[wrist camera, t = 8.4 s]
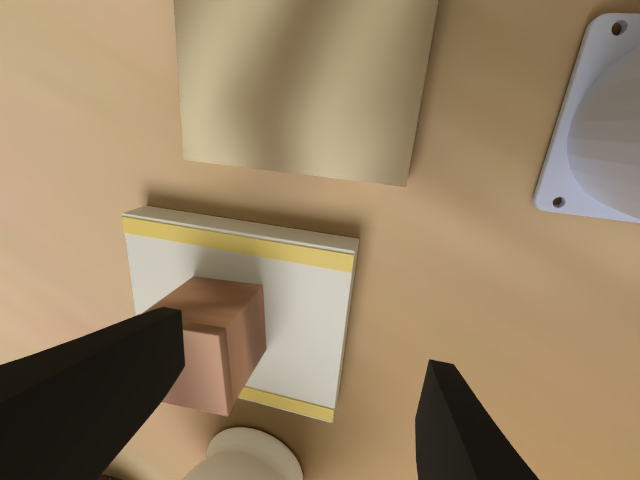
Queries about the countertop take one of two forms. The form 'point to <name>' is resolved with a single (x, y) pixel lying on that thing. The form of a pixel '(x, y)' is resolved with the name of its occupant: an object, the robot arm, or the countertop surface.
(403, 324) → the countertop surface
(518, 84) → the countertop surface
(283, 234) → the dock
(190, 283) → the brown cube
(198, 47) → the beige rectangular slab
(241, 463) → the jar
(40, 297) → the countertop surface
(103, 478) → the cupcake
